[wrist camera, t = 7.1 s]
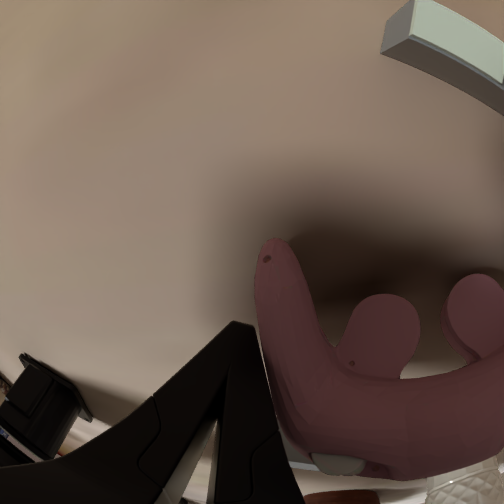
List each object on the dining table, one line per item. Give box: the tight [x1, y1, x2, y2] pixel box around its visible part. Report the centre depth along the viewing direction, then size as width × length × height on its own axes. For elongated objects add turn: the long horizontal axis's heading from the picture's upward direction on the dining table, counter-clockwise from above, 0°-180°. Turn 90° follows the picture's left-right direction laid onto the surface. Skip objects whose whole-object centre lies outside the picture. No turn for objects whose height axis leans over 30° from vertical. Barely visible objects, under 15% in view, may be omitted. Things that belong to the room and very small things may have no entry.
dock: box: [277, 0, 504, 471], centre depth 8 cm, size 18×14×3 cm
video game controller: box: [255, 238, 504, 481], centre depth 6 cm, size 10×5×7 cm
